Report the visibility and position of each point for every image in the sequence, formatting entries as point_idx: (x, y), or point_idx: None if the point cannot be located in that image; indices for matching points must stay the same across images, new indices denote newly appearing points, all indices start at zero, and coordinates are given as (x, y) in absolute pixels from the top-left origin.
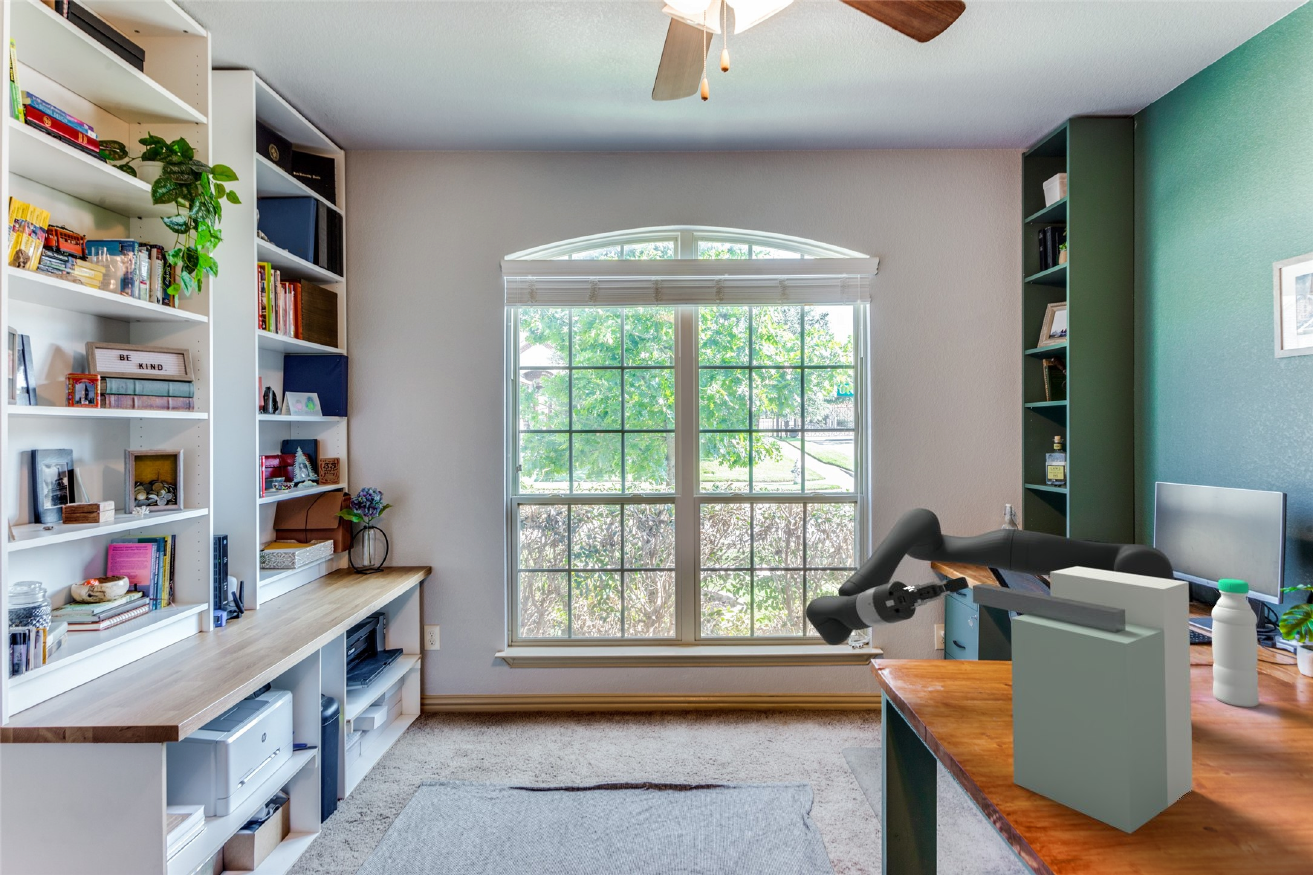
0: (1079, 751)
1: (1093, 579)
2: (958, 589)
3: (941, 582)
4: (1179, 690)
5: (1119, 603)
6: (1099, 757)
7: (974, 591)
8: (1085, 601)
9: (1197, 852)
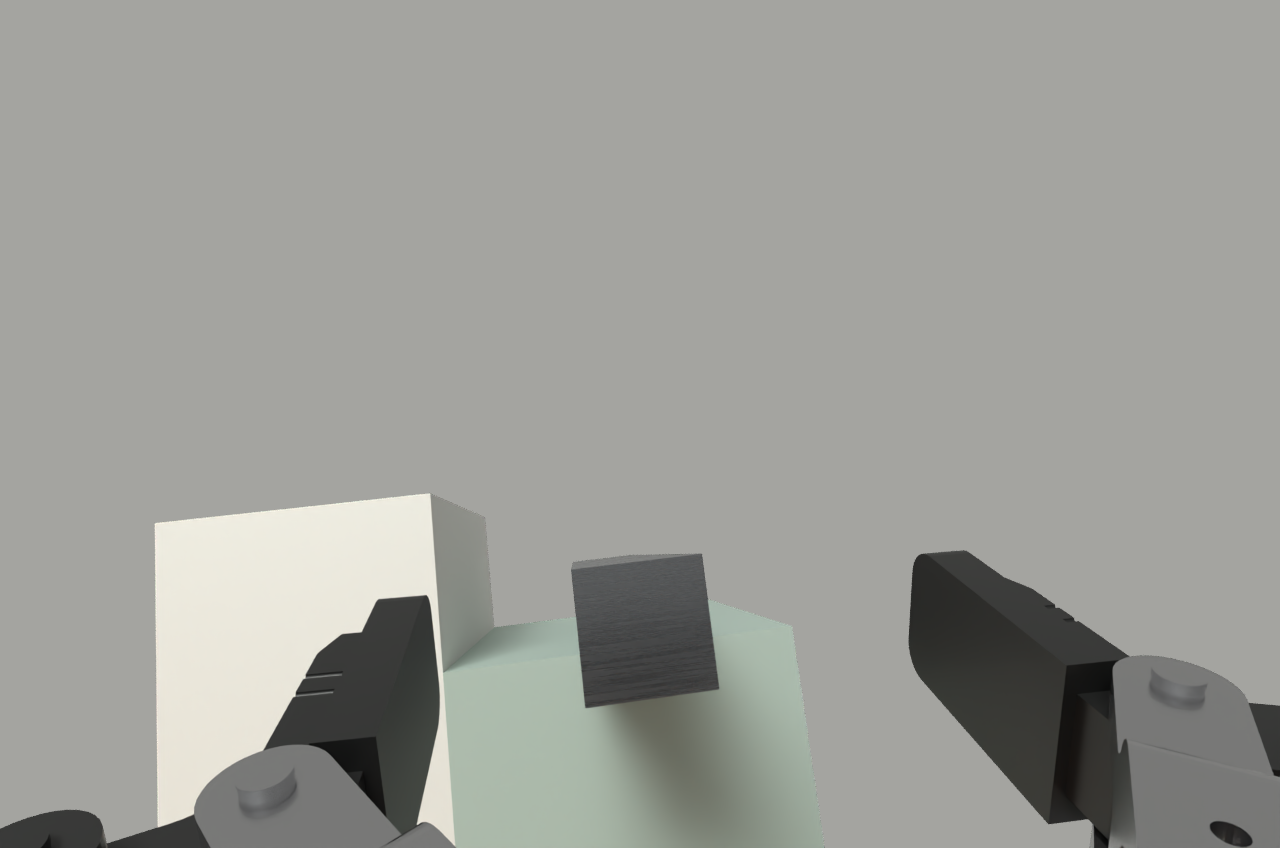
0: None
1: (459, 510)
2: (423, 781)
3: (363, 802)
4: None
5: (476, 580)
6: None
7: (705, 596)
8: (461, 600)
9: None
